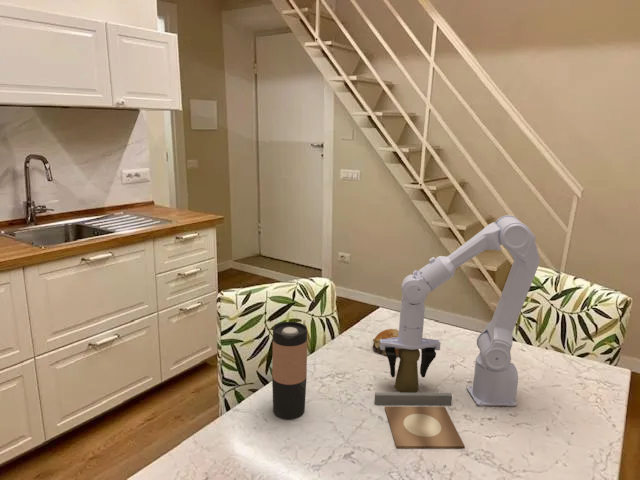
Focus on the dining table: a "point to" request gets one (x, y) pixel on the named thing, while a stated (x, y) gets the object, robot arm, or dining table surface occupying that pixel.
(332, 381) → the dining table surface
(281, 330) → the travel mug
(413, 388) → the cork
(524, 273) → the robot arm
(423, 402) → the low wall
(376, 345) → the bread roll
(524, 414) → the dining table surface
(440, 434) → the walnut board
